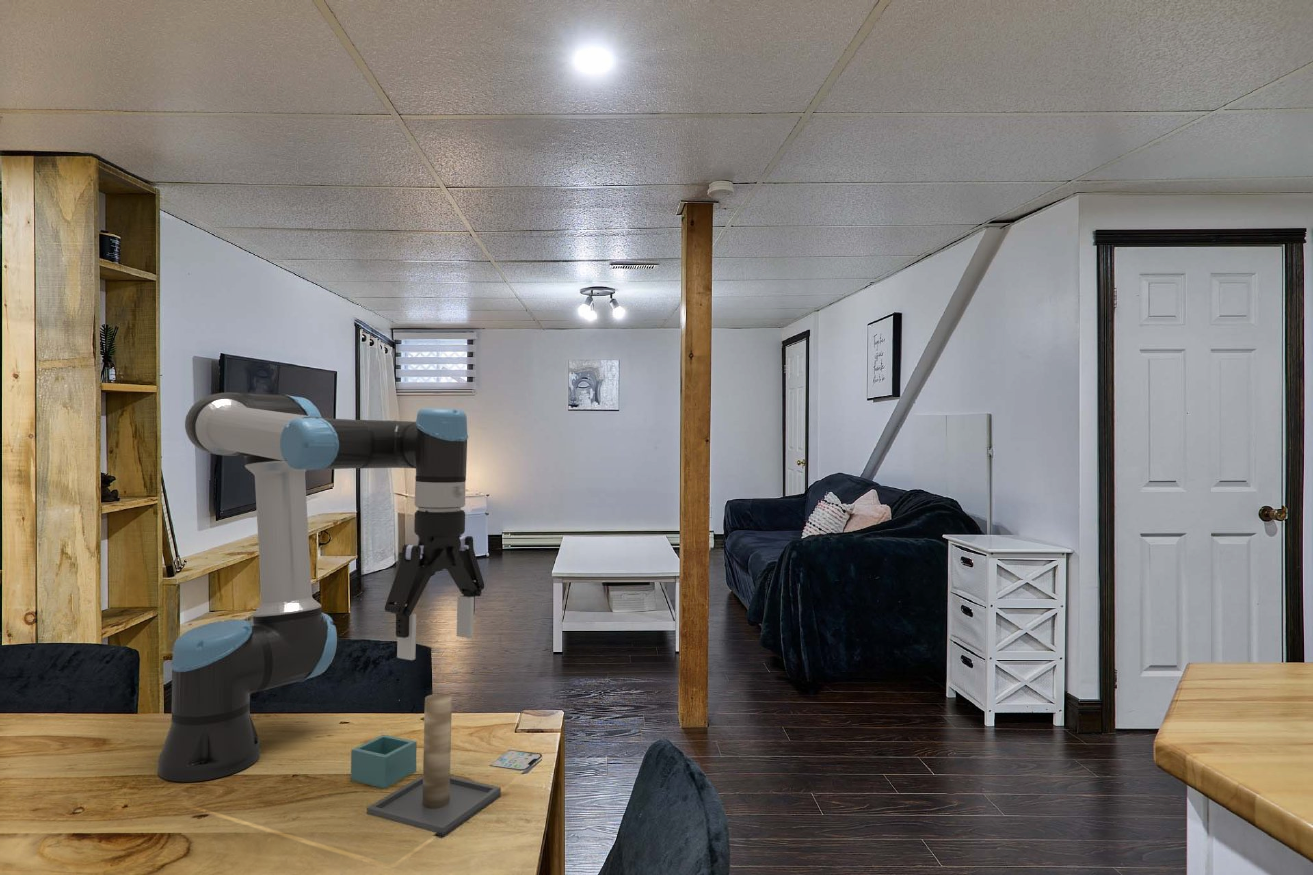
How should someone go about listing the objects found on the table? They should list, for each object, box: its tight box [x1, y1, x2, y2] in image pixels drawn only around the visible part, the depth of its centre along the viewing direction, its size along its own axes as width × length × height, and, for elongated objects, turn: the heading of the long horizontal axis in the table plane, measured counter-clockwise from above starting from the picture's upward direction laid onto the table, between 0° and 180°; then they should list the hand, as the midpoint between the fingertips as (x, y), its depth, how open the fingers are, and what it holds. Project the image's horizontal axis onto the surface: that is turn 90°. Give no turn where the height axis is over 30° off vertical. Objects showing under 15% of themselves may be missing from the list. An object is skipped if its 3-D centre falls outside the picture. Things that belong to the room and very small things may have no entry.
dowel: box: [422, 693, 453, 808], centre depth 117 cm, size 4×4×16 cm
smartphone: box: [489, 749, 543, 775], centre depth 134 cm, size 7×1×15 cm
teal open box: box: [350, 734, 418, 789], centre depth 126 cm, size 7×7×6 cm
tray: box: [366, 774, 502, 839], centre depth 117 cm, size 14×14×1 cm
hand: (437, 647), depth 117 cm, fingers open, 13 cm apart
